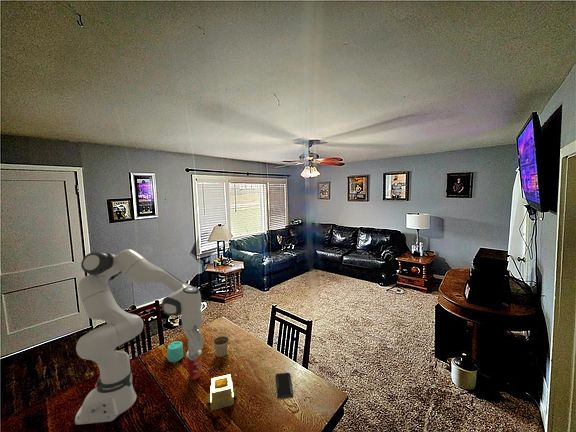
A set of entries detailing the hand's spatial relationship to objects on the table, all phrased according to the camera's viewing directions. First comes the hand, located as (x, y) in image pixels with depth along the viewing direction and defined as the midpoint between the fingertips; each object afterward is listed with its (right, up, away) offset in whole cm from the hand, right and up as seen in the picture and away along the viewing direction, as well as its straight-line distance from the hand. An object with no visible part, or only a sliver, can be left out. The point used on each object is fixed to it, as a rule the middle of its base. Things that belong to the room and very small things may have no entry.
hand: (193, 349), depth 118 cm
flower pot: (+5, -20, +32) cm, 38 cm away
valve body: (+14, -23, -1) cm, 27 cm away
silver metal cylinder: (0, -4, 0) cm, 4 cm away
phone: (+43, -22, +7) cm, 49 cm away
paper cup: (-4, -22, +14) cm, 26 cm away
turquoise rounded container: (-22, -21, +29) cm, 41 cm away
